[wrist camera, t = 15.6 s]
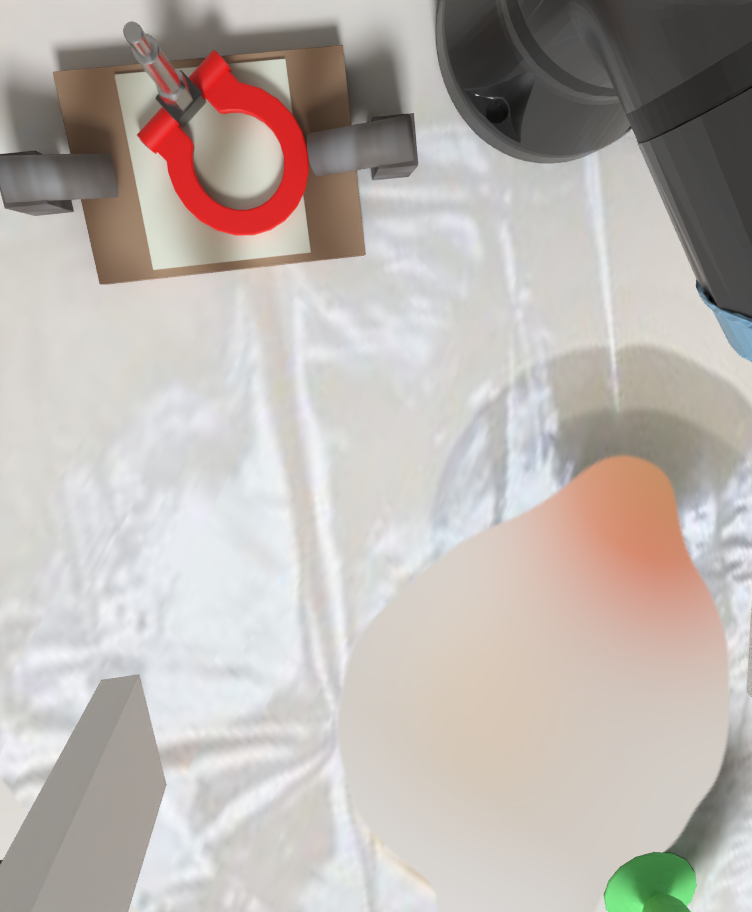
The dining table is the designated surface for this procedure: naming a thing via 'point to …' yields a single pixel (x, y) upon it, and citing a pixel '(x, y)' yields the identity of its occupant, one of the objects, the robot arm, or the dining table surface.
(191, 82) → the tow hook
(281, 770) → the dining table surface
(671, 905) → the cup
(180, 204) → the shaft stand
